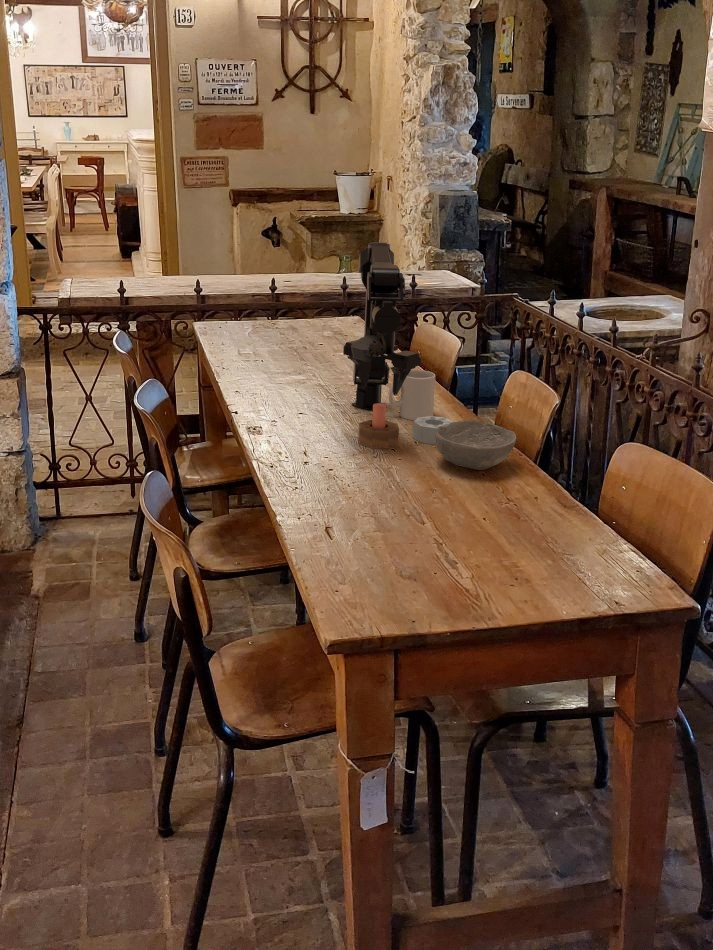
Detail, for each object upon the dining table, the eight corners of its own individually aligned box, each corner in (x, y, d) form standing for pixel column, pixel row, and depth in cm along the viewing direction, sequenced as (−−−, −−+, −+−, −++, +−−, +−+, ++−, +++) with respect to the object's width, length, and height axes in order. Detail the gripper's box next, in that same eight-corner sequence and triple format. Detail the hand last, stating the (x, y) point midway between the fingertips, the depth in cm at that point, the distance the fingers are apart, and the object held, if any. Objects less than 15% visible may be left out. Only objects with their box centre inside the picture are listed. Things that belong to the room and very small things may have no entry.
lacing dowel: (377, 439, 243) (378, 402, 240) (387, 442, 241) (388, 405, 238) (368, 442, 241) (370, 405, 237) (378, 445, 239) (380, 407, 236)
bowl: (460, 484, 216) (463, 448, 214) (417, 458, 231) (420, 424, 228) (530, 473, 224) (533, 438, 222) (484, 449, 239) (487, 416, 236)
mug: (425, 410, 267) (428, 369, 263) (438, 419, 259) (440, 377, 256) (382, 412, 263) (384, 371, 260) (393, 422, 256) (395, 379, 252)
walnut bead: (375, 433, 247) (376, 417, 245) (405, 442, 241) (406, 426, 240) (351, 441, 240) (351, 425, 239) (380, 450, 235) (381, 434, 233)
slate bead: (419, 430, 250) (420, 414, 249) (456, 435, 248) (457, 419, 246) (409, 441, 242) (410, 424, 241) (446, 446, 240) (448, 429, 238)
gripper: (328, 321, 231) (326, 388, 237) (392, 335, 220) (388, 405, 225) (360, 315, 239) (358, 380, 245) (424, 328, 228) (420, 396, 233)
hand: (379, 390), depth 237 cm, fingers open, 9 cm apart
